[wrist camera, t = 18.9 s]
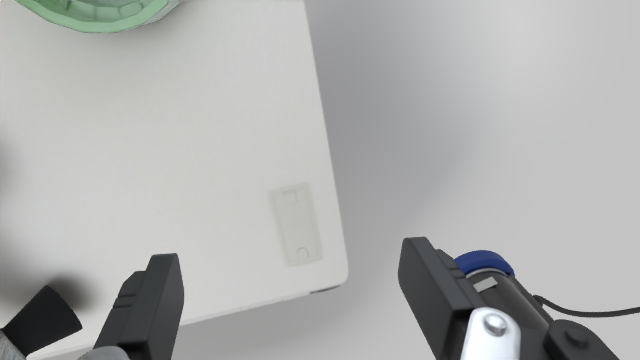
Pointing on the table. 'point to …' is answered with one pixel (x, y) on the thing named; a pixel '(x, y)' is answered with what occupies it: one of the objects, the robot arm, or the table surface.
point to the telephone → (37, 325)
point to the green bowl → (101, 13)
